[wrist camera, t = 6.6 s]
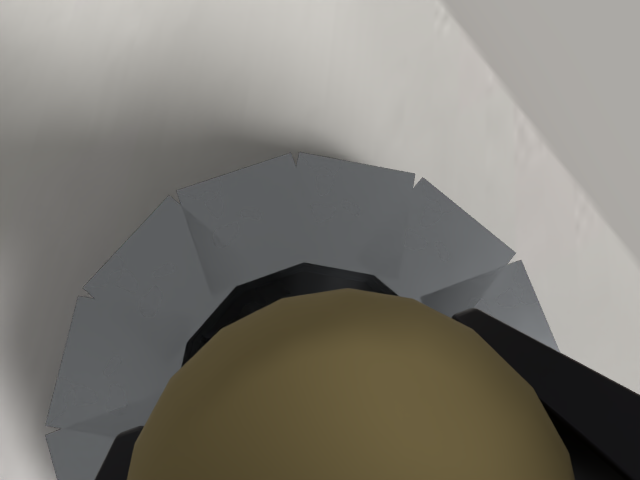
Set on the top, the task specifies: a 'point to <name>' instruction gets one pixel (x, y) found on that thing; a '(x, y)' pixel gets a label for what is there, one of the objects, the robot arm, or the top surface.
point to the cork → (348, 400)
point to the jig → (264, 280)
